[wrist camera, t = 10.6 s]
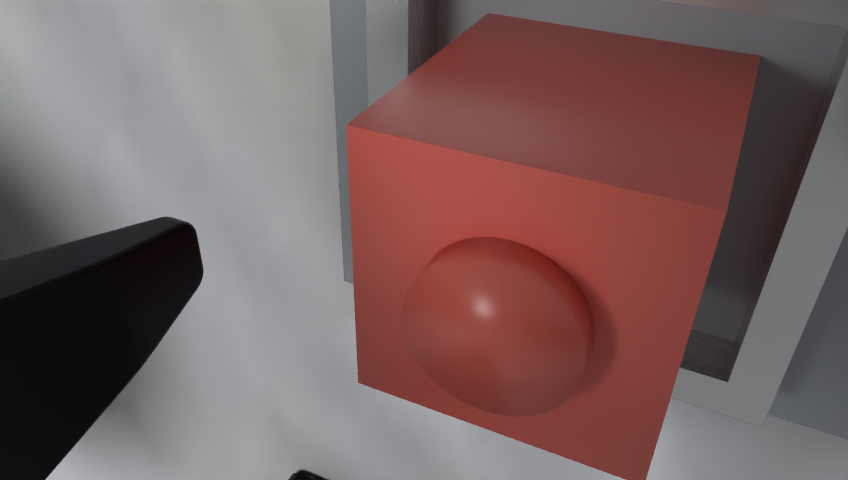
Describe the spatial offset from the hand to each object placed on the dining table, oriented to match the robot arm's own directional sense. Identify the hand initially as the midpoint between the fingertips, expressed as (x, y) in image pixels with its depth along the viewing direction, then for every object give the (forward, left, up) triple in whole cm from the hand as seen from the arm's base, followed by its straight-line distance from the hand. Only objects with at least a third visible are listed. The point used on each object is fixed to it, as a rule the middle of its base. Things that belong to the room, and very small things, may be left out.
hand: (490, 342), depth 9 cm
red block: (0, 0, -6) cm, 6 cm away
